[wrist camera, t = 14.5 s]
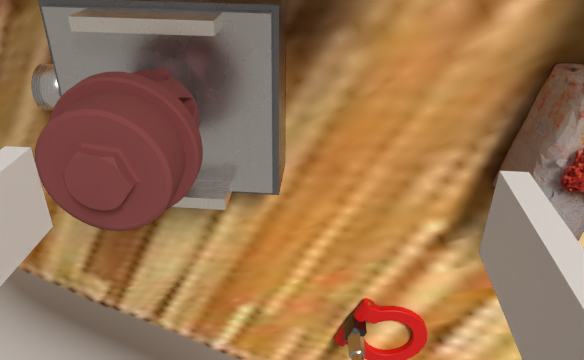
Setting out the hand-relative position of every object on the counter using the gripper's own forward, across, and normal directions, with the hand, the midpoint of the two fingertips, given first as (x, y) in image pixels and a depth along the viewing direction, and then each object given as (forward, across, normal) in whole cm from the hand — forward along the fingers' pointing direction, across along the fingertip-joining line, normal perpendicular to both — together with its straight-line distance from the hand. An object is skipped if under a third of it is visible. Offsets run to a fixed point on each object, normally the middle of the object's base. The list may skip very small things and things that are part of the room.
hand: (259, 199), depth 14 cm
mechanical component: (+24, -11, -7) cm, 28 cm away
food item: (+31, +22, -10) cm, 40 cm away
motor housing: (+31, -12, -7) cm, 34 cm away
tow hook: (+31, +10, -37) cm, 49 cm away
